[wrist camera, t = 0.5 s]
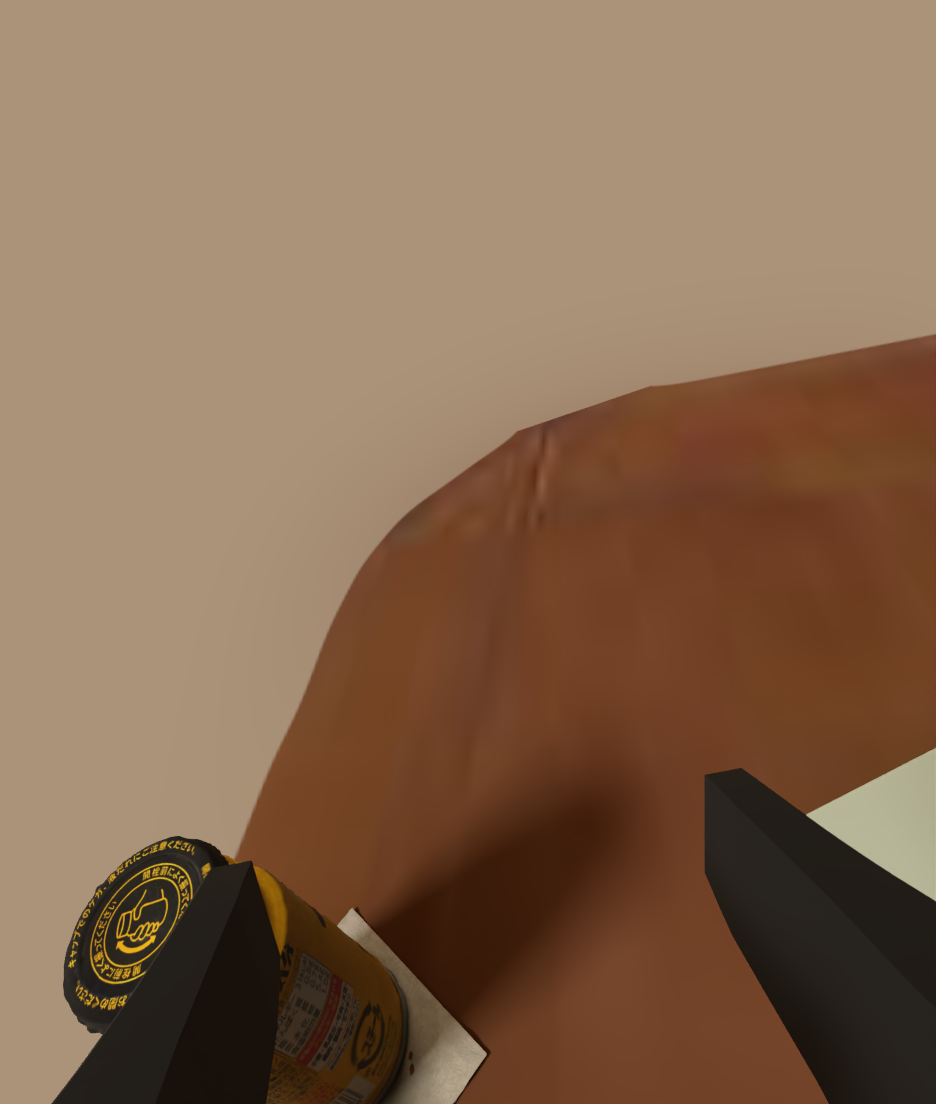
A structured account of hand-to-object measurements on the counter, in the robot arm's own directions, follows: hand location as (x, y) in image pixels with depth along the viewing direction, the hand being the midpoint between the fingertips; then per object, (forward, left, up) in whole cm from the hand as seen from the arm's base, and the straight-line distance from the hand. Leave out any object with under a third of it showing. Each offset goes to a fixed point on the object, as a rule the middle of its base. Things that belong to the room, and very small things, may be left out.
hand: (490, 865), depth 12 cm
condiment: (+6, +11, -18) cm, 22 cm away
